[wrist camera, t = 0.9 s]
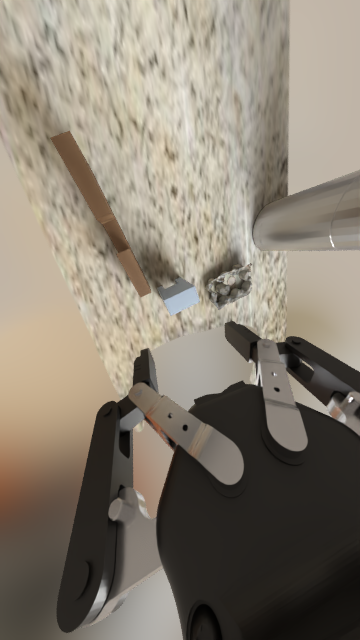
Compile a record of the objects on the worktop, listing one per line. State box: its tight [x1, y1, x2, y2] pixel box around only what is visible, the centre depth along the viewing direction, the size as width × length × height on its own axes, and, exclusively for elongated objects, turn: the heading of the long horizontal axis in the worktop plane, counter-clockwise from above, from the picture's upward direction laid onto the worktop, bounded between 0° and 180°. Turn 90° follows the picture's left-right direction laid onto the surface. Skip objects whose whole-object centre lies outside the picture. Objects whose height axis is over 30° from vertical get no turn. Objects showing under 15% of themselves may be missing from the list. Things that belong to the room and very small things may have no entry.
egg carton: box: [205, 263, 252, 310], centre depth 32 cm, size 11×8×4 cm
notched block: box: [157, 277, 200, 315], centre depth 27 cm, size 6×3×9 cm, turn 111°
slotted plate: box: [51, 131, 151, 297], centre depth 21 cm, size 2×18×7 cm, turn 21°
